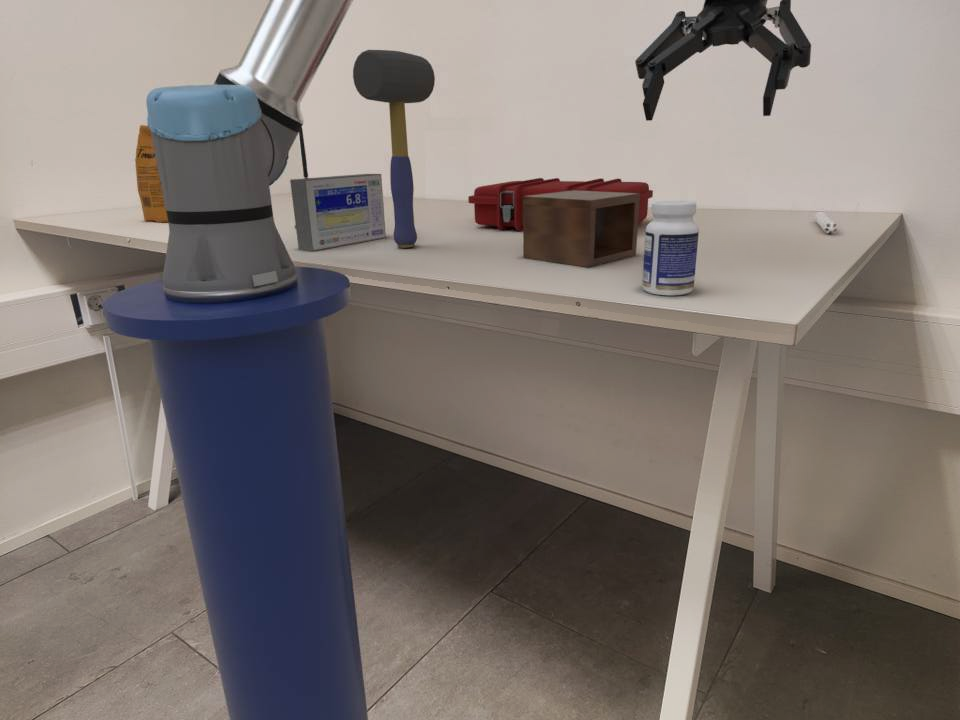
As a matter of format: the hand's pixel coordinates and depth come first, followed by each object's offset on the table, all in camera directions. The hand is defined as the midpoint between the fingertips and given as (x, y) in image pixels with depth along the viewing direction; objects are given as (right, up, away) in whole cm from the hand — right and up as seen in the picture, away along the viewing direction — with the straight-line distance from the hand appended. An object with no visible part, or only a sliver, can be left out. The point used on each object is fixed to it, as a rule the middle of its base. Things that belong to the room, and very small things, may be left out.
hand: (704, 109), depth 73 cm
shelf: (-12, -14, +20) cm, 27 cm away
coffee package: (-102, +5, +79) cm, 129 cm away
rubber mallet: (-39, -11, +31) cm, 51 cm away
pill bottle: (-5, -22, -2) cm, 23 cm away
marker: (+37, -6, +40) cm, 55 cm away
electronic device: (-52, -9, +38) cm, 65 cm away
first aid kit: (-10, -2, +53) cm, 54 cm away
